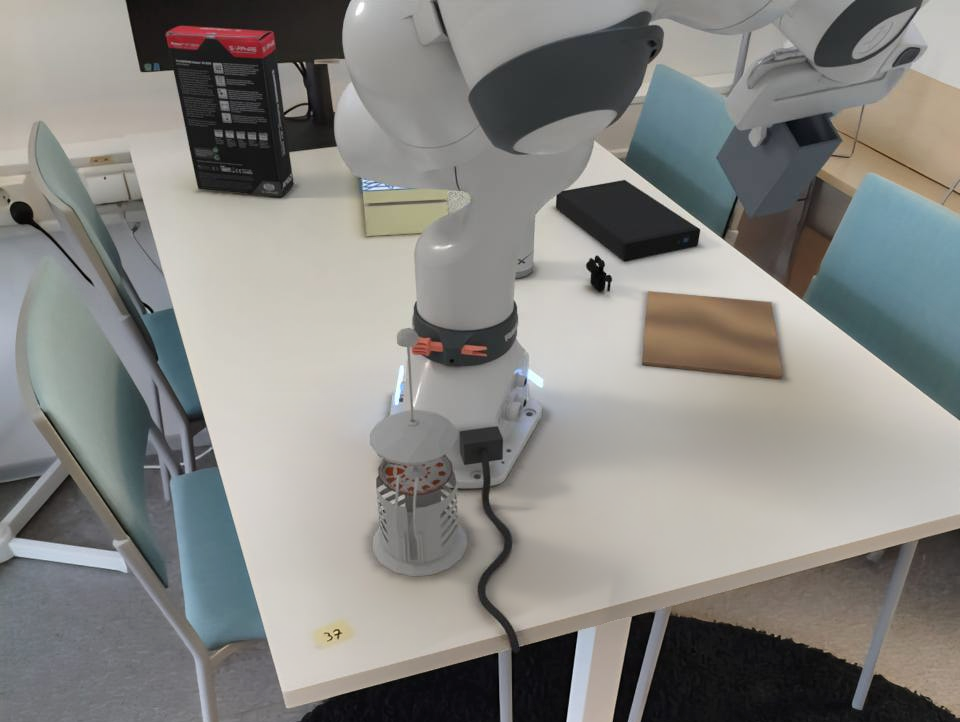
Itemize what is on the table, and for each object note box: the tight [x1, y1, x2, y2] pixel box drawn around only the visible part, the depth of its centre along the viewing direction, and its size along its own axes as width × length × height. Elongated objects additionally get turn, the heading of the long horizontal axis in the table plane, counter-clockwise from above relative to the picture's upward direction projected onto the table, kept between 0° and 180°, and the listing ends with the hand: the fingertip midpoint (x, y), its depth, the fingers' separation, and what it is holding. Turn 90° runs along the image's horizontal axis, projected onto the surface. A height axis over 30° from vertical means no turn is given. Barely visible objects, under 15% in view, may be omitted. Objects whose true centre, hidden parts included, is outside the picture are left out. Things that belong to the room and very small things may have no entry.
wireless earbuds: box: [585, 254, 613, 293], centre depth 129 cm, size 7×2×5 cm, turn 21°
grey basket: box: [715, 113, 843, 220], centre depth 102 cm, size 12×6×10 cm
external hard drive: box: [555, 179, 701, 262], centre depth 147 cm, size 14×23×3 cm, turn 24°
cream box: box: [357, 177, 449, 237], centre depth 160 cm, size 45×15×10 cm, turn 8°
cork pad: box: [641, 290, 783, 380], centre depth 121 cm, size 20×18×1 cm
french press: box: [369, 327, 468, 577], centre depth 80 cm, size 10×12×25 cm
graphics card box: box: [165, 25, 295, 198], centre depth 152 cm, size 17×7×27 cm, turn 80°
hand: (782, 135), depth 100 cm, fingers closed on grey basket, 6 cm apart
